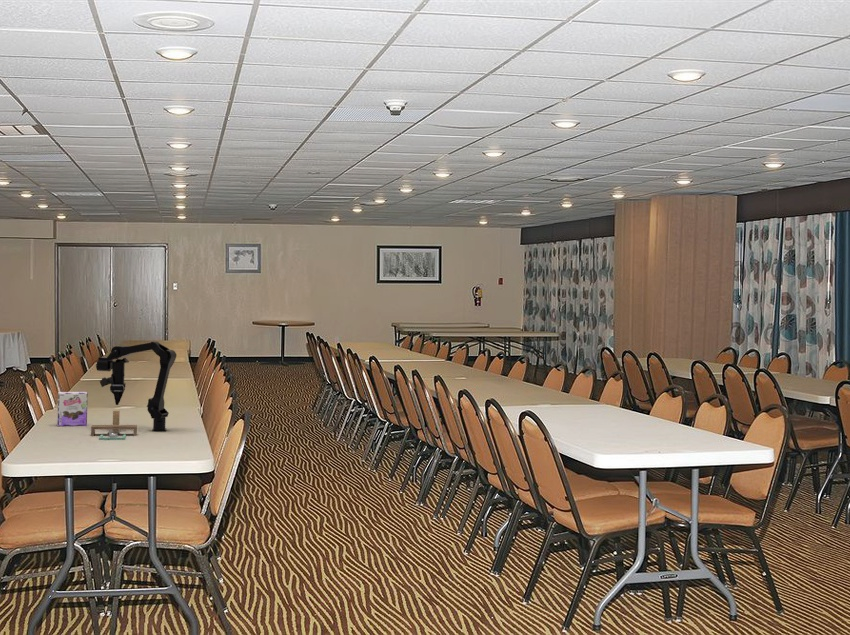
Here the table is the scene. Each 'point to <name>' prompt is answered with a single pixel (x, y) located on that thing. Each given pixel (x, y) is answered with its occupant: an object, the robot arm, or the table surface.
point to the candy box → (72, 409)
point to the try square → (115, 422)
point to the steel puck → (113, 435)
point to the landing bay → (112, 438)
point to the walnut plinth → (113, 428)
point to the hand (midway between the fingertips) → (117, 403)
